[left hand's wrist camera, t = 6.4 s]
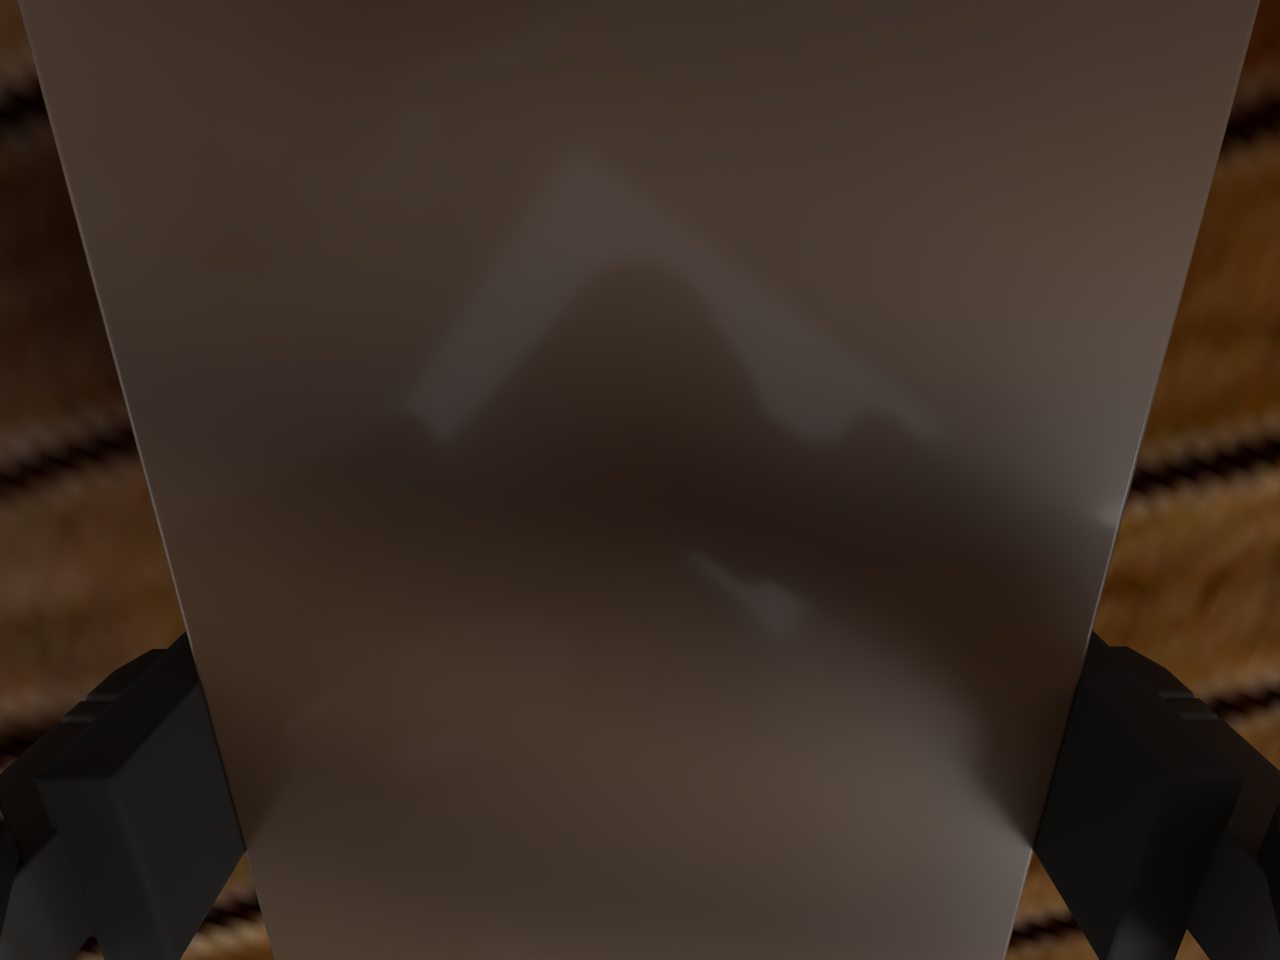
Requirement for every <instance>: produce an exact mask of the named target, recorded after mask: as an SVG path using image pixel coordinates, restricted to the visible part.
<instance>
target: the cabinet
mask: <svg viewBox="0 0 1280 960" xmlns="http://www.w3.org/2000/svg"><path fill="white" fill-rule="evenodd" d="M17 1H18V5H19V9H20V12H21V16H22V20H23V23H24V27H25V31H26V35H27V38H28V42H29V46H30V50H31V53H32V57H33V61H34V65H35V68H36V72H37V76H38V79H39V83H40V87H41V91H42V94H43V98H44V102H45V106H46V109H47V113H48V117H49V121H50V124H51V128H52V132H53V135H54V139H55V143H56V147H57V150H58V154H59V158H60V162H61V165H62V169H63V173H64V177H65V180H66V184H67V188H68V191H69V195H70V199H71V203H72V206H73V210H74V214H75V218H76V221H77V225H78V229H79V232H80V236H81V240H82V244H83V247H84V251H85V255H86V259H87V262H88V266H89V270H90V274H91V277H92V281H93V285H94V288H95V292H96V296H97V300H98V303H99V307H100V311H101V315H102V318H103V322H104V326H105V330H106V333H107V337H108V341H109V344H110V348H111V352H112V356H113V359H114V363H115V367H116V371H117V374H118V378H119V382H120V385H121V389H122V393H123V397H124V400H125V404H126V408H127V412H128V415H129V419H130V423H131V427H132V430H133V434H134V438H135V441H136V445H137V449H138V453H139V456H140V460H141V464H142V468H143V471H144V475H145V479H146V483H147V486H148V490H149V494H150V497H151V501H152V505H153V509H154V512H155V516H156V520H157V524H158V527H159V531H160V535H161V538H162V542H163V546H164V550H165V553H166V557H167V561H168V565H169V568H170V572H171V576H172V580H173V583H174V587H175V591H176V594H177V598H178V602H179V606H180V609H181V613H182V617H183V621H184V624H185V628H186V632H187V636H188V639H189V643H190V647H191V650H192V654H193V658H194V662H195V665H196V669H197V673H198V677H199V680H200V684H201V688H202V692H203V695H204V699H205V703H206V706H207V710H208V714H209V718H210V721H211V725H212V729H213V733H214V736H215V740H216V744H217V747H218V751H219V755H220V759H221V762H222V766H223V770H224V774H225V777H226V781H227V785H228V789H229V792H230V796H231V800H232V803H233V807H234V811H235V815H236V818H237V822H238V826H239V830H240V833H241V837H242V841H243V845H244V848H245V852H246V856H247V859H248V863H249V867H250V871H251V874H252V878H253V882H254V886H255V889H256V893H257V897H258V900H259V904H260V908H261V912H262V915H263V919H264V923H265V927H266V930H267V934H268V938H269V942H270V945H271V949H272V953H273V956H274V960H1005V956H1006V953H1007V949H1008V945H1009V941H1010V938H1011V934H1012V930H1013V926H1014V923H1015V919H1016V915H1017V911H1018V908H1019V904H1020V900H1021V896H1022V893H1023V889H1024V885H1025V881H1026V877H1027V874H1028V870H1029V866H1030V862H1031V859H1032V855H1033V851H1034V847H1035V844H1036V840H1037V836H1038V832H1039V829H1040V825H1041V821H1042V817H1043V814H1044V810H1045V806H1046V802H1047V799H1048V795H1049V791H1050V787H1051V784H1052V780H1053V776H1054V772H1055V769H1056V765H1057V761H1058V757H1059V754H1060V750H1061V746H1062V742H1063V739H1064V735H1065V731H1066V727H1067V724H1068V720H1069V716H1070V712H1071V709H1072V705H1073V701H1074V697H1075V694H1076V690H1077V686H1078V682H1079V679H1080V675H1081V671H1082V667H1083V664H1084V660H1085V656H1086V652H1087V649H1088V645H1089V641H1090V637H1091V634H1092V630H1093V626H1094V622H1095V619H1096V615H1097V611H1098V607H1099V604H1100V600H1101V596H1102V592H1103V589H1104V585H1105V581H1106V577H1107V574H1108V570H1109V566H1110V562H1111V559H1112V555H1113V551H1114V547H1115V544H1116V540H1117V536H1118V532H1119V529H1120V525H1121V521H1122V517H1123V514H1124V510H1125V506H1126V502H1127V499H1128V495H1129V491H1130V487H1131V484H1132V480H1133V476H1134V472H1135V469H1136V465H1137V461H1138V457H1139V454H1140V450H1141V446H1142V442H1143V439H1144V435H1145V431H1146V427H1147V424H1148V420H1149V416H1150V412H1151V409H1152V405H1153V401H1154V397H1155V394H1156V390H1157V386H1158V382H1159V379H1160V375H1161V371H1162V367H1163V364H1164V360H1165V356H1166V352H1167V348H1168V345H1169V341H1170V337H1171V333H1172V330H1173V326H1174V322H1175V318H1176V315H1177V311H1178V307H1179V303H1180V300H1181V296H1182V292H1183V288H1184V285H1185V281H1186V277H1187V273H1188V270H1189V266H1190V262H1191V258H1192V255H1193V251H1194V247H1195V243H1196V240H1197V236H1198V232H1199V228H1200V225H1201V221H1202V217H1203V213H1204V210H1205V206H1206V202H1207V198H1208V195H1209V191H1210V187H1211V183H1212V180H1213V176H1214V172H1215V168H1216V165H1217V161H1218V157H1219V153H1220V150H1221V146H1222V142H1223V138H1224V135H1225V131H1226V127H1227V123H1228V120H1229V116H1230V112H1231V108H1232V105H1233V101H1234V97H1235V93H1236V90H1237V86H1238V82H1239V78H1240V75H1241V71H1242V67H1243V63H1244V60H1245V56H1246V52H1247V48H1248V45H1249V41H1250V37H1251V33H1252V30H1253V26H1254V22H1255V18H1256V15H1257V11H1258V7H1259V3H1260V0H17Z"/></svg>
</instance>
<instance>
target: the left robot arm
mask: <svg viewBox="0 0 1280 960" xmlns="http://www.w3.org/2000/svg"><path fill="white" fill-rule="evenodd" d="M244 852H245V848H244V845H243V841H242V837H241V833H240V830H239V826H238V822H237V818H236V815H235V811H234V807H233V803H232V800H231V796H230V792H229V789H228V785H227V781H226V777H225V774H224V770H223V766H222V762H221V759H220V755H219V751H218V747H217V744H216V740H215V736H214V733H213V729H212V725H211V721H210V718H209V714H208V710H207V706H206V703H205V699H204V695H203V692H202V688H201V684H200V680H199V677H198V673H197V669H196V665H195V662H194V658H193V654H192V650H191V647H190V643H189V639H188V636H187V632H185V633H184V634H182V635H181V636H180V637H179V638H178V639H177V640H176V641H175V642H174V643H173V644H172V645H171V646H170V647H169V648H168V649H152V650H150V651H148V652H147V653H145V654H143V655H141V656H140V657H138V658H136V659H134V660H133V661H131V662H129V663H127V664H126V665H124V666H122V667H120V668H119V669H117V670H115V671H114V672H113V673H112V674H110V675H109V676H108V677H107V678H106V679H105V680H104V681H103V682H102V683H100V684H99V685H98V686H97V687H96V688H95V689H94V690H93V691H92V692H91V693H89V694H88V695H87V696H86V701H81V702H79V703H78V704H77V705H76V706H75V707H74V708H73V709H72V710H71V711H70V712H68V713H67V714H66V715H65V716H64V717H63V721H62V723H56V724H55V725H54V726H53V727H52V728H51V729H50V730H49V731H47V732H46V733H45V734H44V735H43V736H42V737H41V738H40V739H39V740H37V741H36V742H35V743H34V744H33V745H32V746H31V747H30V748H29V749H28V750H26V751H25V752H24V753H23V754H22V755H21V756H20V757H19V758H18V759H16V760H15V761H14V762H13V763H12V764H11V765H10V766H9V767H8V768H7V769H5V770H4V771H3V772H2V773H1V774H0V960H72V959H73V958H74V956H75V955H76V954H77V952H78V951H79V950H80V948H81V947H82V946H83V944H84V943H85V942H86V940H87V939H88V937H89V936H90V935H91V933H92V932H94V934H95V937H96V939H97V942H98V944H99V947H100V950H101V952H102V955H103V957H104V960H180V958H181V957H182V955H183V953H184V952H185V950H186V948H187V947H188V945H189V943H190V942H191V940H192V938H193V937H194V935H195V933H196V932H197V930H198V928H199V927H200V925H201V924H202V922H203V920H204V919H205V917H206V915H207V914H208V912H209V910H210V909H211V907H212V905H213V904H214V902H215V900H216V899H217V897H218V895H219V894H220V892H221V890H222V889H223V887H224V885H225V884H226V882H227V880H228V879H229V877H230V875H231V874H232V872H233V870H234V869H235V867H236V865H237V864H238V862H239V860H240V859H241V857H242V855H243V854H244ZM1034 852H1035V853H1036V855H1037V857H1038V858H1039V860H1040V862H1041V863H1042V865H1043V867H1044V868H1045V870H1046V872H1047V873H1048V875H1049V877H1050V878H1051V880H1052V882H1053V883H1054V885H1055V887H1056V888H1057V890H1058V892H1059V893H1060V895H1061V897H1062V898H1063V900H1064V902H1065V903H1066V905H1067V906H1068V908H1069V910H1070V911H1071V913H1072V915H1073V916H1074V918H1075V920H1076V921H1077V923H1078V925H1079V926H1080V928H1081V930H1082V931H1083V933H1084V935H1085V936H1086V938H1087V940H1088V941H1089V943H1090V945H1091V946H1092V948H1093V950H1094V951H1095V953H1096V955H1097V956H1098V958H1099V960H1175V957H1176V955H1177V952H1178V949H1179V947H1180V944H1181V942H1182V939H1183V937H1184V934H1185V932H1186V929H1188V930H1189V932H1190V933H1191V935H1192V936H1193V937H1194V939H1195V940H1196V941H1197V943H1198V944H1199V945H1200V947H1201V948H1202V949H1203V951H1204V952H1205V953H1206V955H1207V956H1208V957H1209V959H1210V960H1280V771H1279V770H1278V769H1277V768H1276V767H1275V766H1274V765H1272V764H1271V763H1270V762H1269V761H1268V760H1267V759H1266V758H1265V757H1264V756H1262V755H1261V754H1260V753H1259V752H1258V751H1257V750H1256V749H1255V748H1254V747H1252V746H1251V745H1250V744H1249V743H1248V742H1247V741H1246V740H1245V739H1244V738H1242V737H1241V736H1240V735H1239V734H1238V733H1237V732H1236V731H1235V730H1234V729H1232V728H1231V727H1230V726H1229V725H1228V724H1227V723H1226V722H1225V721H1224V720H1218V719H1217V714H1216V713H1215V712H1214V711H1212V710H1211V709H1210V708H1209V707H1208V706H1207V705H1206V704H1205V703H1204V702H1202V701H1201V700H1200V699H1195V698H1194V696H1193V693H1192V692H1191V691H1190V690H1189V689H1188V688H1187V687H1186V686H1185V685H1183V684H1182V683H1181V682H1180V681H1179V680H1178V679H1177V678H1176V677H1175V676H1173V675H1172V674H1171V673H1170V672H1169V671H1168V670H1167V669H1166V668H1164V667H1162V666H1161V665H1159V664H1157V663H1155V662H1154V661H1152V660H1150V659H1148V658H1146V657H1145V656H1143V655H1141V654H1139V653H1138V652H1136V651H1134V650H1132V649H1131V648H1129V647H1109V646H1108V645H1107V644H1106V643H1105V642H1104V641H1103V640H1102V639H1101V638H1100V637H1099V636H1098V635H1097V634H1096V633H1095V632H1094V631H1093V630H1092V634H1091V637H1090V641H1089V645H1088V649H1087V652H1086V656H1085V660H1084V664H1083V667H1082V671H1081V675H1080V679H1079V682H1078V686H1077V690H1076V694H1075V697H1074V701H1073V705H1072V709H1071V712H1070V716H1069V720H1068V724H1067V727H1066V731H1065V735H1064V739H1063V742H1062V746H1061V750H1060V754H1059V757H1058V761H1057V765H1056V769H1055V772H1054V776H1053V780H1052V784H1051V787H1050V791H1049V795H1048V799H1047V802H1046V806H1045V810H1044V814H1043V817H1042V821H1041V825H1040V829H1039V832H1038V836H1037V840H1036V844H1035V847H1034Z"/></svg>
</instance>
